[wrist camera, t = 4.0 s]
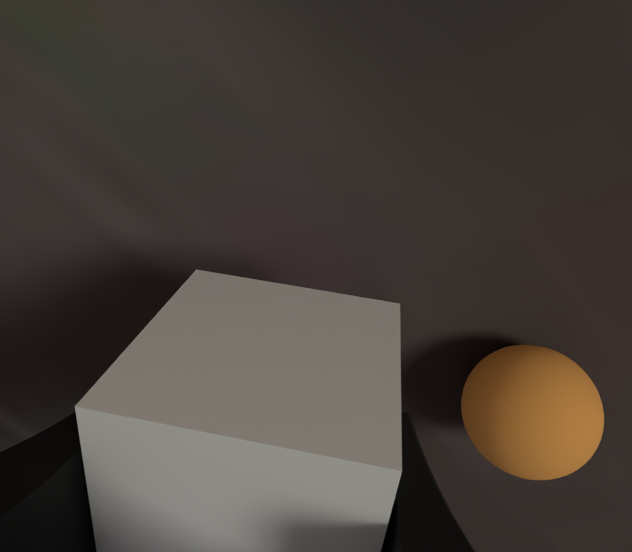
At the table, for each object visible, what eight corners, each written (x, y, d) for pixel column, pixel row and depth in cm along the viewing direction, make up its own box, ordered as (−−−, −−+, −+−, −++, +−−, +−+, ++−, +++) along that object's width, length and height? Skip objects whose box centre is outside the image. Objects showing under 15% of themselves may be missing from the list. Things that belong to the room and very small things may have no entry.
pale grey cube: (367, 456, 16) (352, 657, 11) (196, 423, 17) (103, 599, 12) (400, 303, 14) (401, 470, 8) (196, 269, 14) (74, 406, 9)
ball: (554, 424, 22) (595, 523, 17) (443, 404, 22) (455, 495, 18) (595, 332, 19) (654, 418, 15) (470, 311, 20) (491, 389, 15)
